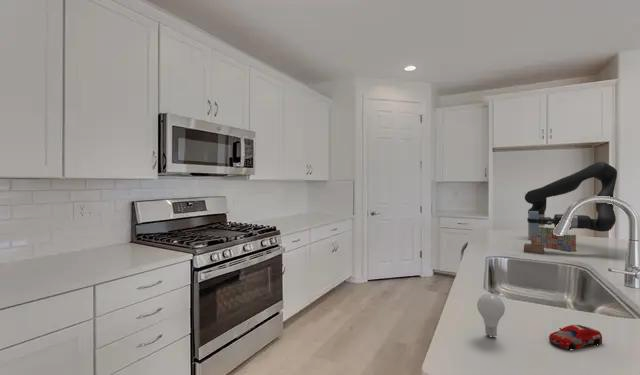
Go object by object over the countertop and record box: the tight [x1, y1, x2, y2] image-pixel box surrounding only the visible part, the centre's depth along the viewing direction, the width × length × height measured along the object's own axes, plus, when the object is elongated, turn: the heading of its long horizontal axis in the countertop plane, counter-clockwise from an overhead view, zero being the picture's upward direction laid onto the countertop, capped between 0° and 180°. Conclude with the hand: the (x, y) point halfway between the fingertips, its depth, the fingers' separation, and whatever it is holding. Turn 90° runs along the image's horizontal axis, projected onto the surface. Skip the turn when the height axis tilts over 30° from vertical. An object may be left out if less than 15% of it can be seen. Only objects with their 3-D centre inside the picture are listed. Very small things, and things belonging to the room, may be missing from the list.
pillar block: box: [529, 211, 539, 234], centre depth 181 cm, size 4×4×12 cm
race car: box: [548, 324, 603, 351], centre depth 80 cm, size 13×5×4 cm, turn 103°
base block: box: [523, 243, 545, 255], centre depth 181 cm, size 9×9×4 cm
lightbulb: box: [476, 293, 506, 337], centre depth 84 cm, size 6×6×11 cm
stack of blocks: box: [530, 225, 577, 252], centre depth 191 cm, size 21×6×12 cm, turn 26°
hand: (528, 220), depth 182 cm, fingers closed on pillar block, 4 cm apart
